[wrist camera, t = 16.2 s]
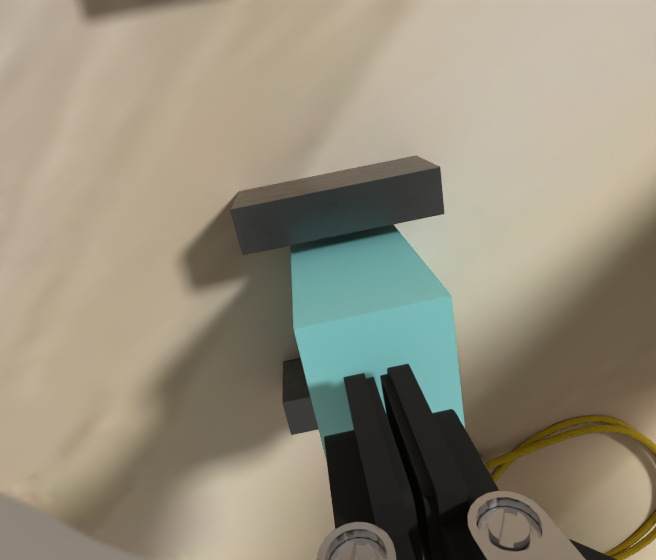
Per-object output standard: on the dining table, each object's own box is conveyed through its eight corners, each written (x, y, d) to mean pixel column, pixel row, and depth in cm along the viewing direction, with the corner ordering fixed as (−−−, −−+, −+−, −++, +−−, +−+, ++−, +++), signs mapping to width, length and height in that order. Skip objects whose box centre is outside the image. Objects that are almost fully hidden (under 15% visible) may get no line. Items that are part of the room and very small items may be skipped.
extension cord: (467, 358, 22) (484, 382, 21) (706, 449, 26) (738, 476, 24) (357, 535, 26) (363, 569, 24) (579, 593, 30) (599, 626, 28)
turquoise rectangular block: (386, 216, 19) (451, 295, 12) (402, 324, 21) (467, 450, 14) (290, 237, 19) (293, 329, 12) (314, 342, 21) (331, 480, 14)
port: (416, 155, 18) (440, 166, 15) (438, 360, 22) (461, 399, 19) (239, 191, 18) (230, 209, 15) (290, 391, 22) (291, 434, 19)
